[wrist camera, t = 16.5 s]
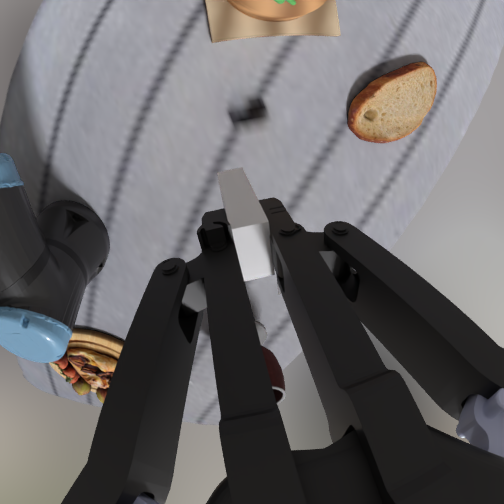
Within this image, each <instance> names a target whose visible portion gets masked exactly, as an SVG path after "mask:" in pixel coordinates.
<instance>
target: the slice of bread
mask: <svg viewBox="0 0 504 504" xmlns="http://www.w3.org/2000/svg"><path fill="white" fill-rule="evenodd" d="M436 88H437V82H436V76H435V73H434V70H433V69H432V68H431V67H430V66H429V65H427V64H426V63H425V62H417V63H412V64H409V65H406V66H403V67H402V68H399V69H397V70H395V71H392V72H390V73H387V74H385V75H383V76H381V77H379V78H378V79H376V80H374V81H372V82H371V83H369V84H368V86H367V87H366V88H365V89H364V90H362V91H361V92H360V93H359V94H358V95H357V96H356V97H355V98H354V99H353V101H352V103H351V106H350V109H349V112H348V127H349V129H350V130H351V131H352V132H353V133H354V134H355V135H356V136H357V137H358V138H359V139H361V140H365V141H369V142H375V143H388V142H392V141H395V140H399V139H401V138H403V137H405V136H407V135H409V134H411V133H412V132H413V131H414V130H416V129H417V127H419V126H420V124H421V123H422V120H423V118H424V116H425V115H426V114H427V112H428V111H429V110H430V108H431V106H432V104H433V102H434V98H435V95H436Z"/></svg>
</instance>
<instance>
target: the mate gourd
mask: <svg viewBox="0 0 504 504" xmlns="http://www.w3.org/2000/svg"><path fill="white" fill-rule="evenodd" d="M255 325H256V328H257V332H258V336H259V340H260V343H261V347H262V351H263V355H264V358H265V362H266V366H267V370H268V373H269V377H270V381H271V384H272V388H273V392H274V395H275V399H276V402H277V404H279V403H280V402H281V401H283V399H284V398H285V396H286V392H285V383H284V376H283V373H282V369H281V367H280V365H279V363H278V361H277V359H276V357H275V356H274V354H273V353H272V352H271V351H270V350H268V349H267V348H265V347H263V346H262V344H263V343H264V342H265V340H266V338H267V332H266V329H265V327H264V326H263V325H262V324H260V323H258V322H255Z"/></svg>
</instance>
